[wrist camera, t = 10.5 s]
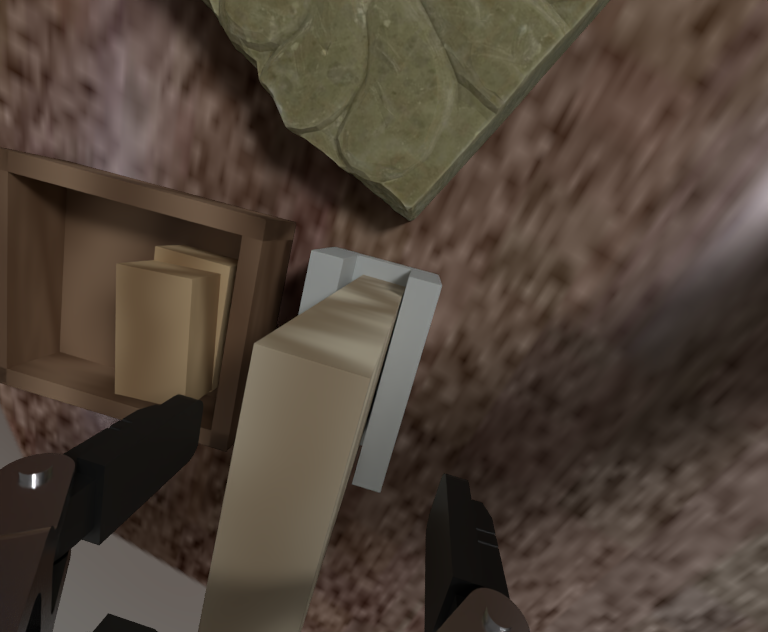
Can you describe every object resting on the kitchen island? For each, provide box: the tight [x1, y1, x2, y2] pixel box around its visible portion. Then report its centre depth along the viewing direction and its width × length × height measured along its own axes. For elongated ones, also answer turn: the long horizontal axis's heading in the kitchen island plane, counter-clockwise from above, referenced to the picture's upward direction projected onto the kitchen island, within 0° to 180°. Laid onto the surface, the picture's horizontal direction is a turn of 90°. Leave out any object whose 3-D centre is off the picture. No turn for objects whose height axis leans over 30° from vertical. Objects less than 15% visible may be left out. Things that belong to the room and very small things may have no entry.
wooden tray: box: [0, 147, 296, 452], centre depth 20 cm, size 14×12×4 cm
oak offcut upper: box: [115, 260, 221, 404], centre depth 18 cm, size 4×6×2 cm, turn 170°
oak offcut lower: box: [154, 245, 238, 392], centre depth 20 cm, size 4×7×2 cm, turn 166°
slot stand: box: [298, 247, 442, 493], centre depth 20 cm, size 6×11×4 cm, turn 166°
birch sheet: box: [198, 275, 406, 632], centre depth 15 cm, size 2×9×13 cm, turn 165°
